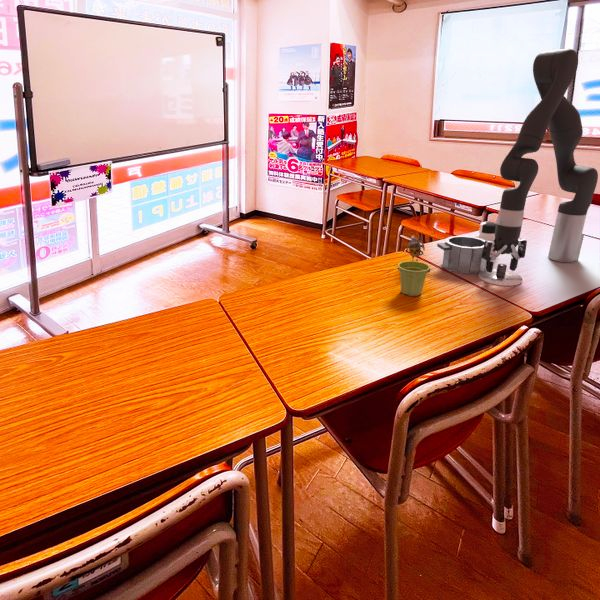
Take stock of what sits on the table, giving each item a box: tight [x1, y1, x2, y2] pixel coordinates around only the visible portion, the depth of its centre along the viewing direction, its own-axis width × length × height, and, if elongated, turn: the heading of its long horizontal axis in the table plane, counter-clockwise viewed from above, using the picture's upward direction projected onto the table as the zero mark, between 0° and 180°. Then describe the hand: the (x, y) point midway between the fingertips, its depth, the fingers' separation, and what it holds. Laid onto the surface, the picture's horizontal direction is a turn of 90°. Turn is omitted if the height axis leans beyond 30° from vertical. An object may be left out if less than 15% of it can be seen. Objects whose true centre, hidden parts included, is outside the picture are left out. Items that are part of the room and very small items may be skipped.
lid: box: [478, 263, 523, 287], centre depth 166 cm, size 14×14×5 cm
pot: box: [436, 235, 494, 275], centre depth 176 cm, size 19×14×9 cm
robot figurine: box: [404, 235, 431, 273], centre depth 172 cm, size 11×9×12 cm
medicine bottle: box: [474, 221, 497, 253], centre depth 188 cm, size 7×7×12 cm
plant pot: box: [397, 260, 431, 297], centre depth 154 cm, size 9×9×9 cm
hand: (500, 270), depth 166 cm, fingers open, 8 cm apart
